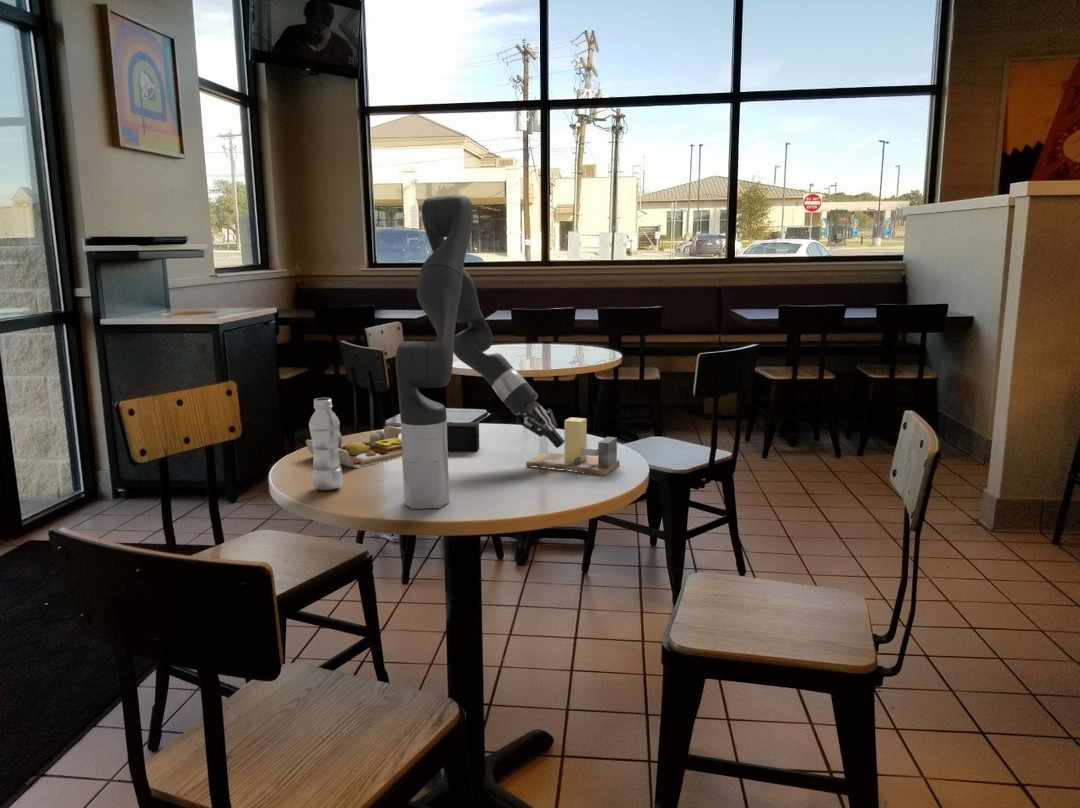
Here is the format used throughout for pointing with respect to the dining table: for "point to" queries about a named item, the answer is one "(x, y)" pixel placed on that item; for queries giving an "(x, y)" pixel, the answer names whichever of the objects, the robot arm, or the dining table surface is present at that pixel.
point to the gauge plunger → (577, 441)
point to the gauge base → (590, 465)
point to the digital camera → (462, 437)
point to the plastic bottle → (325, 446)
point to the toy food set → (369, 448)
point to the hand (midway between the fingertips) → (561, 444)
